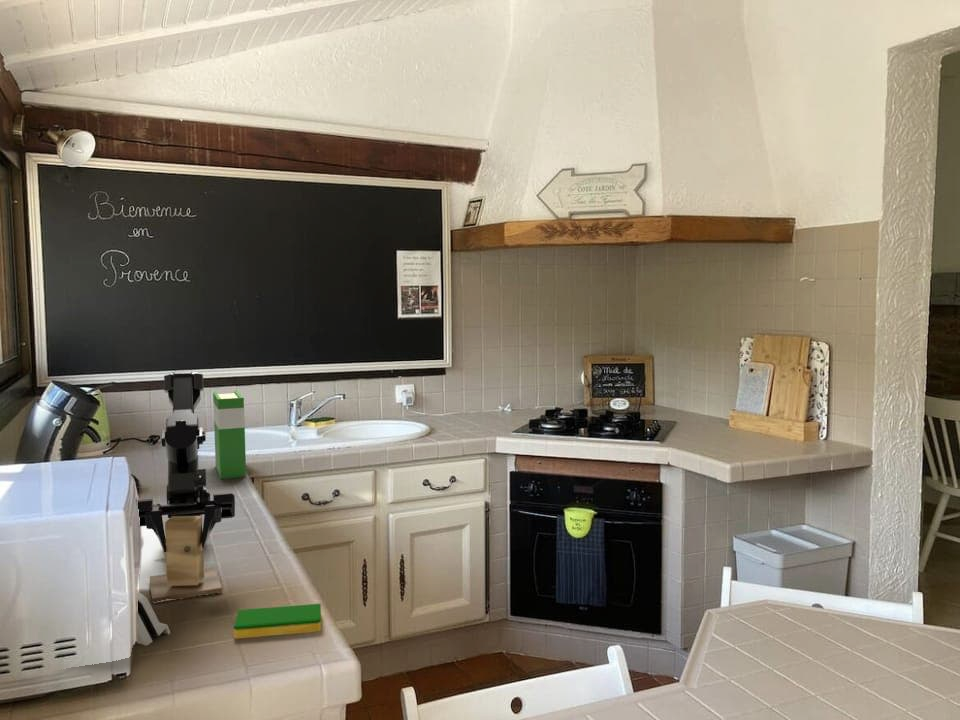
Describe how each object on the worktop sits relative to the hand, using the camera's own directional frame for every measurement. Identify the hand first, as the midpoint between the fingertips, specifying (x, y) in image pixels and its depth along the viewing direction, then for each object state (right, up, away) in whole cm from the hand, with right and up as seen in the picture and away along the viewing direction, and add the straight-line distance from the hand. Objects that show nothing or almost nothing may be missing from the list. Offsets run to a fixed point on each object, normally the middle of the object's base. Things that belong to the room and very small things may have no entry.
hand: (184, 549), depth 146 cm
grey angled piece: (-5, -10, -16) cm, 19 cm away
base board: (-1, -8, +4) cm, 9 cm away
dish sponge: (+21, -10, -13) cm, 27 cm away
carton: (-23, 0, +98) cm, 101 cm away
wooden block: (0, -6, +2) cm, 7 cm away
